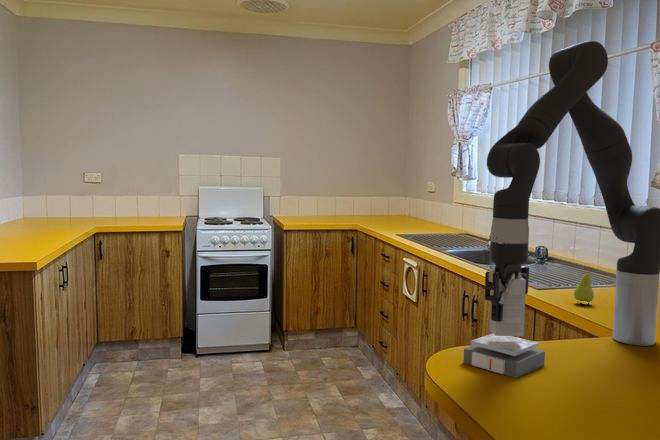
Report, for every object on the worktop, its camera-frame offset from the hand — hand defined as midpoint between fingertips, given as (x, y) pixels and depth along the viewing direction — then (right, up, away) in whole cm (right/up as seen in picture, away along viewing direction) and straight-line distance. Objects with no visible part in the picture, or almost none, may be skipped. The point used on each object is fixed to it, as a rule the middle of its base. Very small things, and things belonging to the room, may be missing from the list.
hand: (506, 317), depth 114 cm
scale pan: (0, -6, 0) cm, 6 cm away
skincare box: (0, -4, 0) cm, 4 cm away
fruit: (+44, -7, +60) cm, 75 cm away
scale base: (0, -10, +1) cm, 10 cm away
